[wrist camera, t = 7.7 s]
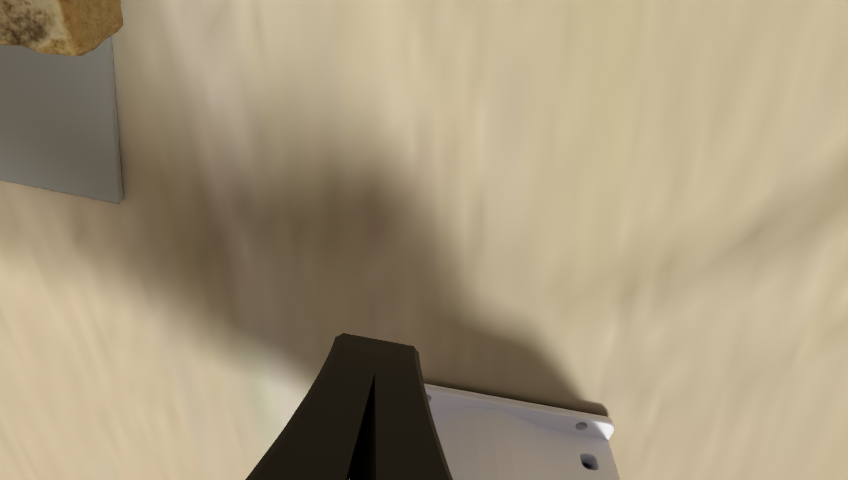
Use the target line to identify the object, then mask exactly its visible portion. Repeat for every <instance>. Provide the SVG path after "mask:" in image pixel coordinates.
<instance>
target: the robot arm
mask: <svg viewBox="0 0 848 480" xmlns="http://www.w3.org/2000/svg"><path fill="white" fill-rule="evenodd" d="M426 394H428V396H427V395H426ZM580 422H582V423H580ZM613 431H614V425H613V422H612V420H611V419H610V418H609V417H606V416H601V415H595V414H590V413H584V412H579V411H573V410H568V409H562V408H557V407H551V406H546V405H540V404H535V403H529V402H524V401H518V400H513V399H507V398H502V397H496V396H491V395H485V394H480V393H474V392H469V391H463V390H458V389H452V388H447V387H441V386H435V385H430V384H424V382H423V377H422V372H421V367H420V361H419V353H418V351H417V350H416V349H415V347H414V346H409V345H404V344H398V343H393V342H388V341H382V340H377V339H372V338H366V337H361V336H355V335H350V334H345V333H343V334H341V335H339V336H337V337H336V338H335V341H334V343H333V346H332V349H331V351H330V353H329V355H328V357H327V359H326V361H325V363H324V365H323V367H322V369H321V371H320V373H319V375H318V376H317V378H316V380H315V381H314V383H313V385H312V386H311V388H310V390H309V392H308V393H307V395H306V396H305V398H304V399H303V401H302V402H301V404H300V405H299V407H298V408H297V410H296V411H295V413H294V414H293V416H292V417H291V419H290V420H289V422H288V423H287V425H286V426H285V428H284V429H283V431H282V432H281V434H280V435H279V436H278V438H277V439H276V440H275V442H274V443H273V444H272V446H271V447H270V448H269V450H268V451H267V452H266V454H265V455H264V456H263V457H262V459H261V460H260V461H259V463H258V464H257V465H256V467H255V468H254V469H253V471H252V472H251V473H250V475H249V476H248V477H247V478H246V480H349V479H350V480H620V478H619V475H618V471H617V468H616V465H615V461H614V458H613V455H612V451H611V448H610V445H609V441H608V440H609V438H610V436H611V435H612V433H613Z"/></svg>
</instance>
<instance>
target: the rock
mask: <svg viewBox="0 0 848 480" xmlns="http://www.w3.org/2000/svg"><path fill="white" fill-rule="evenodd" d="M120 4H121V0H0V44H2V45H9V46H23V47H26V48H30V49H32V50H34V51H35V52H39V53H46V54H60V55H64V56H83V55H85V54H86V53H88V52H90V51H92V50H94V49H96V48H97V47H98V46H99V45H100V44H101V43H102V42H103V41H104V40H105V39H107V38H108V37H110V36H111V35H112V34H114V33H116V32H117V31H118V30H119V29H120V28H121V27H122V26H123V18H122V12H121V6H120Z"/></svg>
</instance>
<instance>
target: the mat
mask: <svg viewBox="0 0 848 480" xmlns="http://www.w3.org/2000/svg"><path fill="white" fill-rule="evenodd" d="M0 180H2V181H7V182H12V183H17V184H22V185H27V186H32V187H37V188H42V189H47V190H52V191H57V192H62V193H67V194H72V195H77V196H82V197H87V198H92V199H97V200H102V201H107V202H112V203H117V204H120V203H121V202H122V201H123V188H122V174H121V161H120V147H119V133H118V120H117V106H116V92H115V79H114V65H113V51H112V38H111V36H110V37H108V38H107V39H105V40H104V41H103V42H102V43H101V44H100V45H99V46H98V47H97V48H96V49H94V50H92V51H90V52H88V53H86V54H85V55H83V56H64V55H60V54H46V53H39V52H35V51H34V50H32V49H30V48H26V47H23V46H9V45H2V44H0Z"/></svg>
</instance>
